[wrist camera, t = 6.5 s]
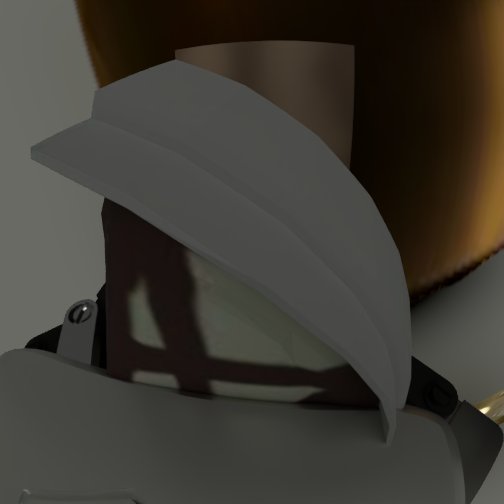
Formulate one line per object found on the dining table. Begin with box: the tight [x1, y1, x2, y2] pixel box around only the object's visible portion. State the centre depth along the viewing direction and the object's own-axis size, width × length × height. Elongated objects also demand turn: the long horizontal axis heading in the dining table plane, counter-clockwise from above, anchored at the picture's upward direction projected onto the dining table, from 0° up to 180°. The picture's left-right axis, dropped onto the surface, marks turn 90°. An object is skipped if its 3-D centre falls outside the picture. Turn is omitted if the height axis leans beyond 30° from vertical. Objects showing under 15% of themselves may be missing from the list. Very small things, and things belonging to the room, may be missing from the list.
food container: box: [31, 60, 411, 444], centre depth 9 cm, size 12×6×10 cm, turn 159°
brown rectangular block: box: [175, 41, 354, 170], centre depth 23 cm, size 13×20×6 cm, turn 2°
